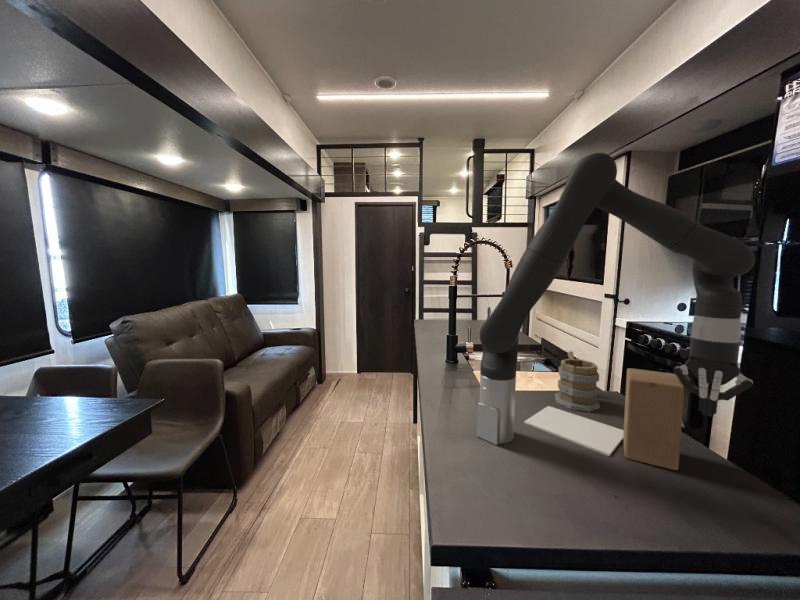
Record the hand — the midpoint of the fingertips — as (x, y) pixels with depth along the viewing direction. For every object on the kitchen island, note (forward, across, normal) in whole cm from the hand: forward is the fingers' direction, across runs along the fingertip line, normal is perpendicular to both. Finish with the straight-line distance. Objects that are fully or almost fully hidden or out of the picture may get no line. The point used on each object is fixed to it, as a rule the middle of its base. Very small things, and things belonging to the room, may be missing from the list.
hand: (707, 414), depth 71 cm
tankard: (+14, -35, +22) cm, 44 cm away
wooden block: (+14, -10, 0) cm, 17 cm away
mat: (+14, -27, 0) cm, 30 cm away
